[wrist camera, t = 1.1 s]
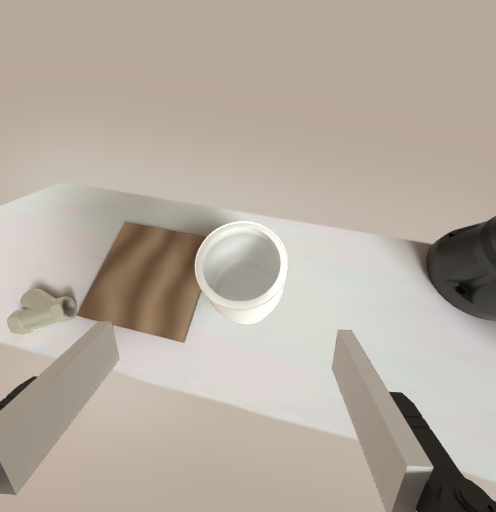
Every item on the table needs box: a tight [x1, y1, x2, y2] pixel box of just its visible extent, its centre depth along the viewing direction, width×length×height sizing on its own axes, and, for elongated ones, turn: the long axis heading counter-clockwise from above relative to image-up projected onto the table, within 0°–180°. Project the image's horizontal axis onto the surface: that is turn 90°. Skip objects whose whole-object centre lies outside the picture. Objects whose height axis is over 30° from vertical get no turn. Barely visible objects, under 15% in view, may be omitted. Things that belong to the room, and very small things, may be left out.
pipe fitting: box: [7, 289, 77, 334], centre depth 39 cm, size 8×4×7 cm
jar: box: [195, 221, 288, 324], centre depth 32 cm, size 11×10×15 cm
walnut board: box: [77, 222, 207, 343], centre depth 41 cm, size 18×18×2 cm
